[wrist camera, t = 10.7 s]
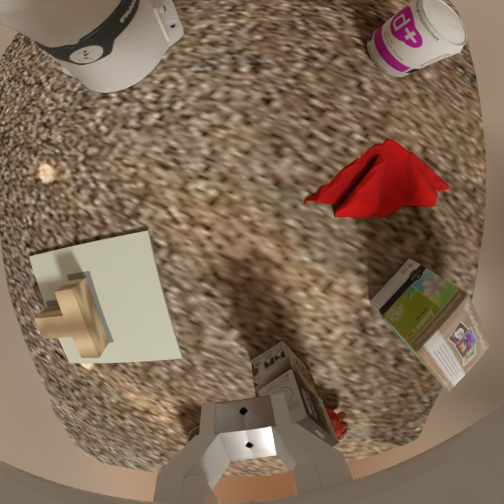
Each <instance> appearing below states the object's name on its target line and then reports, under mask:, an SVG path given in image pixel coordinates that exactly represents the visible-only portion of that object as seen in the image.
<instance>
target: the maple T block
mask: <svg viewBox="0 0 504 504" xmlns="http://www.w3.org/2000/svg"><path fill="white" fill-rule="evenodd" d="M54 292H55V295H56V298H57V301H58V304H59V305H58V306H50V307H47V308H46V309H45V310H44V311H42V312H41V313H40V314H39V315H38V316H37V317H36V318H34V319H35V322H36V324H37V326H38V329H39V331H40V333H41V336H42V338H66V337H72V338H73V341H74V343H75V345H76V347H77V349H78V352H79V354H80V356H81V358H100V356H101V355H102V353H103V352H104V350H105V348H106V347H107V345H108V344H109V339H108V337H107V335H106V332H105V330H104V327H103V324H102V322H101V319H100V316H99V314H98V311H97V308H96V305H95V303H94V300H93V297H92V294H91V291H90V288H89V285H88V281H87V278H81V279H75V280H69V281H68V282H66V283H65V284H64V285H62V286H61V287H60V288H58V289H57V290H56V291H54Z"/></svg>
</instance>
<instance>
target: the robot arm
mask: <svg viewBox="0 0 504 504" xmlns="http://www.w3.org/2000/svg"><path fill="white" fill-rule="evenodd" d="M0 24H1V25H4V26H7V27H9V28H12V29H14V30H16V31H18V32H20V33H22V34H24V35H26V36H28V37H29V38H31V39H33V40H35V43H36V44H37V46H38V47H39V48H41V49H42V50H43V52H45V53H46V54H49V55H50V56H51V57H52V58H53V59H54V60H56V61H57V62H58V63H59V64H60V65H62V71H63V72H64V73H65V74H66V75H68V76H71V77H76V78H78V79H79V80H80V81H81V82H82V83H83V85H85V86H86V87H87V88H89V89H91V90H93V91H96V92H103V93H108V92H115V91H119V90H122V89H125V88H128V87H130V86H132V85H134V84H135V83H137V82H139V81H140V80H142V79H143V78H144V77H146V76H147V75H148V74H149V73H150V72H151V71H152V70H153V69H154V68H155V67H156V66H157V64H158V63H159V62H160V60H161V59H162V57H163V55H164V54H165V52H166V51H167V49H168V48H169V47H170V46H172V45H173V44H174V43H176V42H177V41H178V40H179V39H180V38H182V36H183V35H184V28H183V25H182V23H181V20H180V18H179V15H178V12H177V10H176V7H175V5H174V2H173V0H0ZM173 25H176V26H175V27H173V28H171V26H173ZM274 455H276V456H277V457H278V458H279V459H280V460H281V461H282V462H283V463H284V464H286V465H287V466H288V467H289V468H290V469H291V470H292V471H293V472H294V483H295V495H293V496H288V497H282V498H275V499H269V500H260V501H251V502H241V503H227V504H504V402H503V403H502V404H501V405H499V406H498V407H497V408H495V409H494V410H492V411H491V412H490V413H488V414H487V415H486V416H484V417H483V418H481V419H480V420H478V421H477V422H475V423H474V424H472V425H471V426H469V427H468V428H466V429H464V430H463V431H461V432H459V433H458V434H456V435H454V436H453V437H451V438H449V439H448V440H445V441H444V442H442V443H440V444H439V445H436V446H435V447H433V448H431V449H429V450H427V451H425V452H423V453H421V454H418V455H417V456H414V457H412V458H410V459H408V460H406V461H403V462H401V463H399V464H397V465H394V466H392V467H389V468H387V469H384V470H381V471H379V472H376V473H373V474H371V475H368V476H365V477H362V478H359V479H356V480H353V479H352V476H351V473H350V471H349V468H348V466H347V463H346V461H345V458H344V456H343V453H342V452H340V451H338V450H337V449H335V448H334V447H332V446H330V445H329V444H327V443H326V442H324V441H323V440H321V439H319V438H318V437H316V436H315V435H313V434H312V433H310V432H309V431H307V430H306V429H305V428H303V427H302V426H300V425H299V424H297V423H292V421H291V418H290V414H289V410H288V406H287V402H286V398H285V394H284V393H283V392H282V393H276V394H271V395H266V396H260V397H254V398H247V399H241V400H232V401H221V402H212V403H203V404H202V406H201V418H200V431H199V435H195V436H194V437H193V438H192V440H191V441H190V442H189V443H188V444H187V445H186V446H185V447H184V448H183V449H182V450H181V451H180V452H179V453H178V454H177V455H176V456H175V457H174V458H173V459H172V460H171V461H170V462H169V463H168V464H167V465H166V467H165V468H164V469H162V470H161V471H160V472H159V473H158V475H157V482H156V487H155V493H154V500H153V502H147V501H139V500H131V499H124V498H118V497H112V496H107V495H102V494H97V493H93V492H89V491H84V490H80V489H76V488H73V487H69V486H66V485H62V484H59V483H56V482H53V481H50V480H47V479H44V478H41V477H39V476H36V475H33V474H30V473H28V472H26V471H23V470H21V469H18V468H16V467H14V466H11V465H9V464H7V463H5V462H3V461H1V460H0V504H221V503H220V501H219V500H218V499H217V497H216V495H215V494H214V493H213V491H212V489H213V488H214V486H215V485H216V483H217V482H218V481H219V479H220V477H221V476H222V474H223V473H224V471H225V470H226V468H227V467H228V465H229V464H230V461H234V460H242V459H250V458H258V457H266V456H274Z"/></svg>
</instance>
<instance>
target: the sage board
mask: <svg viewBox="0 0 504 504" xmlns="http://www.w3.org/2000/svg"><path fill="white" fill-rule="evenodd" d="M30 260H31V264H32V267H33V271H34V274H35V277H36V281H37V284H38V287H39V290H40V293H41V296H42V298H43V301H44V304H45V307H46V308H47V307H50V306H58V305H59V304H58V301H57V298H56V295H55V292H54V291H56V290H57V289H58V288H60V287H61V286H62V285H64V284H65V283H66V282H68V281H69V280H75V279H81V278H87V281H88V285H89V288H90V291H91V294H92V297H93V300H94V303H95V305H96V308H97V311H98V314H99V316H100V319H101V322H102V324H103V327H104V330H105V332H106V335H107V337H108V339H109V344H108V345H107V347H106V348H105V350H104V352H103V353H102V355H101V356H100V358H81V356H80V354H79V352H78V349H77V347H76V345H75V343H74V341H73V338H72V337H66V338H58V339H59V341H60V343H61V345H62V348H63V350H64V352H65V354H66V356H67V358H68V360H69V362H70V363H118V362H139V361H154V360H167V359H179V358H182V357H183V356H182V353H181V350H180V347H179V343H178V340H177V337H176V334H175V331H174V327H173V324H172V321H171V317H170V314H169V310H168V307H167V303H166V299H165V296H164V292H163V288H162V284H161V280H160V277H159V273H158V269H157V264H156V260H155V256H154V252H153V247H152V243H151V238H150V234H149V230H146V231H141V232H136V233H131V234H126V235H121V236H116V237H111V238H106V239H102V240H97V241H92V242H88V243H83V244H79V245H74V246H70V247H66V248H61V249H57V250H53V251H49V252H44V253H40V254H36V255H32V256H30Z"/></svg>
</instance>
